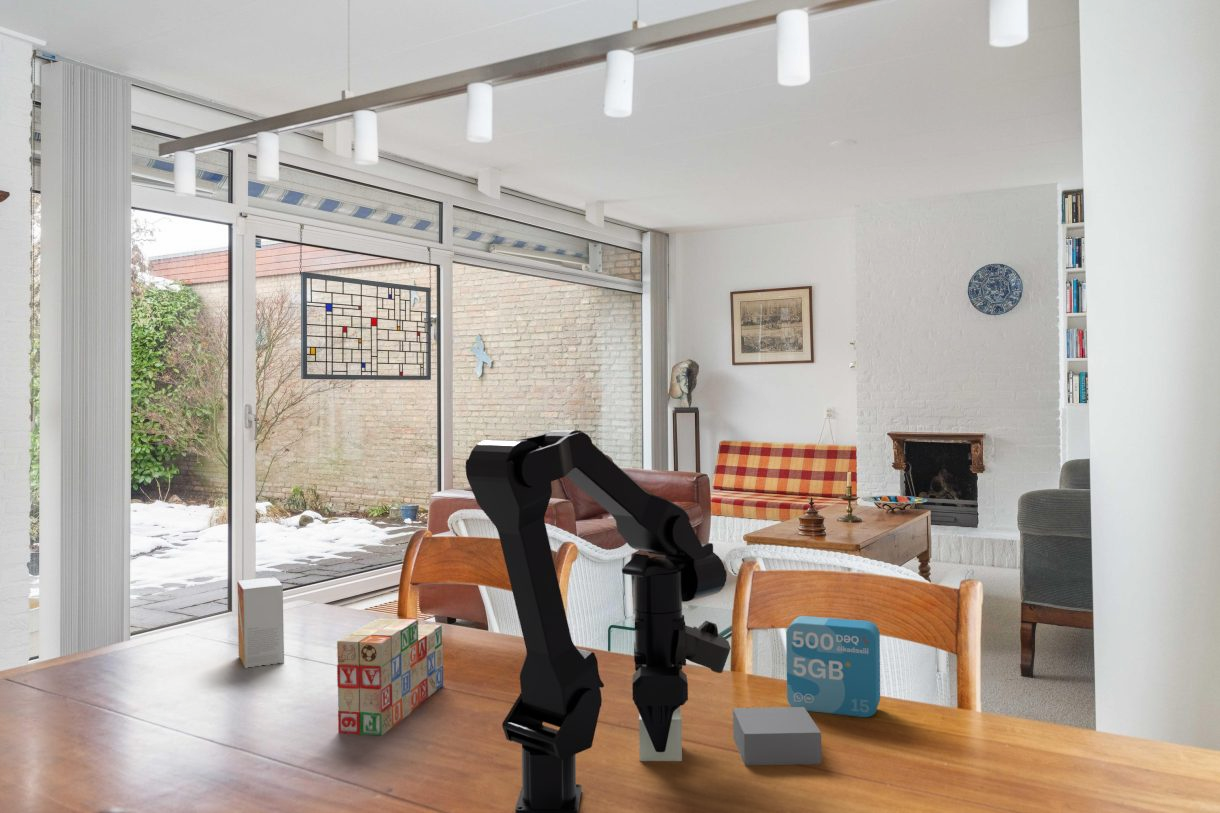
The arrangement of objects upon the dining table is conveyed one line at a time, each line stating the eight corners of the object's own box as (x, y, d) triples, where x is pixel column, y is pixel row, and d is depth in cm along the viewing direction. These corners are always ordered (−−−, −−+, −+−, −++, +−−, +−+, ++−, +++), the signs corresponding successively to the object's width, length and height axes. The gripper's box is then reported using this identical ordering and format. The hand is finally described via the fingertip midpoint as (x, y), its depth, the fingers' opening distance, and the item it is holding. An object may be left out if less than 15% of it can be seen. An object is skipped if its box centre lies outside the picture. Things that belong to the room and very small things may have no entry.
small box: (237, 657, 156) (236, 580, 156) (277, 651, 159) (276, 576, 159) (243, 669, 149) (242, 588, 149) (284, 663, 152) (283, 584, 152)
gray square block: (821, 766, 108) (821, 732, 108) (744, 768, 108) (744, 733, 108) (804, 738, 117) (803, 706, 117) (733, 739, 117) (732, 708, 117)
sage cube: (681, 761, 109) (681, 719, 109) (639, 761, 109) (639, 719, 109) (680, 745, 114) (679, 705, 114) (639, 745, 114) (639, 705, 114)
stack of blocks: (405, 683, 141) (404, 603, 141) (444, 685, 139) (443, 604, 139) (337, 734, 120) (336, 639, 120) (382, 737, 118) (381, 641, 118)
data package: (786, 709, 127) (785, 621, 127) (793, 699, 131) (792, 614, 131) (876, 719, 122) (876, 629, 122) (880, 708, 127) (879, 621, 126)
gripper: (732, 627, 102) (734, 768, 102) (719, 592, 121) (720, 711, 121) (631, 627, 102) (633, 767, 102) (633, 592, 121) (635, 711, 121)
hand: (659, 737), depth 112 cm, fingers open, 9 cm apart
